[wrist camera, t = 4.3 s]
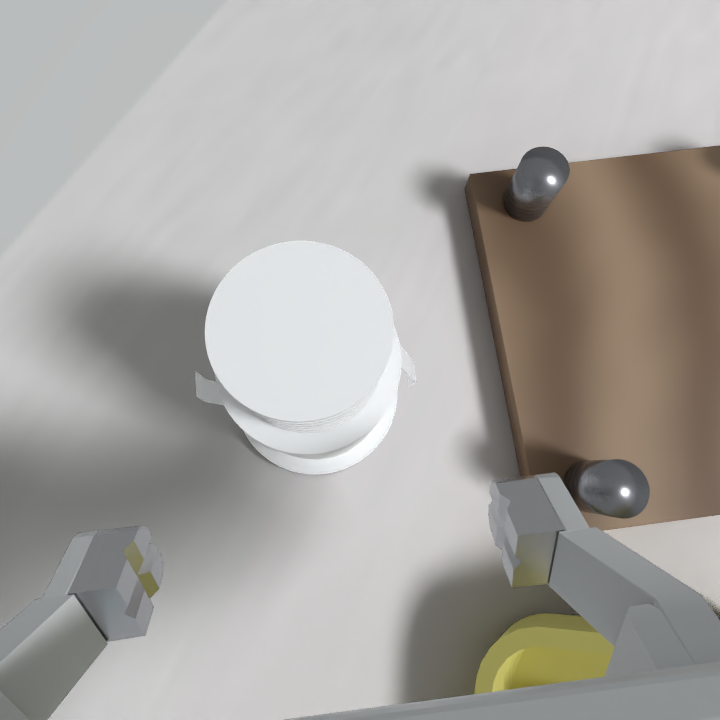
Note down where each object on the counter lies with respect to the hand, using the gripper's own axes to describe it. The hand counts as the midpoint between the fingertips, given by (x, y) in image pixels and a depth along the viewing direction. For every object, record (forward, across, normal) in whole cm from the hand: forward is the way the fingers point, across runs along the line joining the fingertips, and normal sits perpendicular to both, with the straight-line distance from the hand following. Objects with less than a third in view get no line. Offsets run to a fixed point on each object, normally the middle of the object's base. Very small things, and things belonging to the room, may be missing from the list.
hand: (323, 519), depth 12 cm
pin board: (+10, -16, +2) cm, 19 cm away
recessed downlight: (+10, 0, +3) cm, 10 cm away
